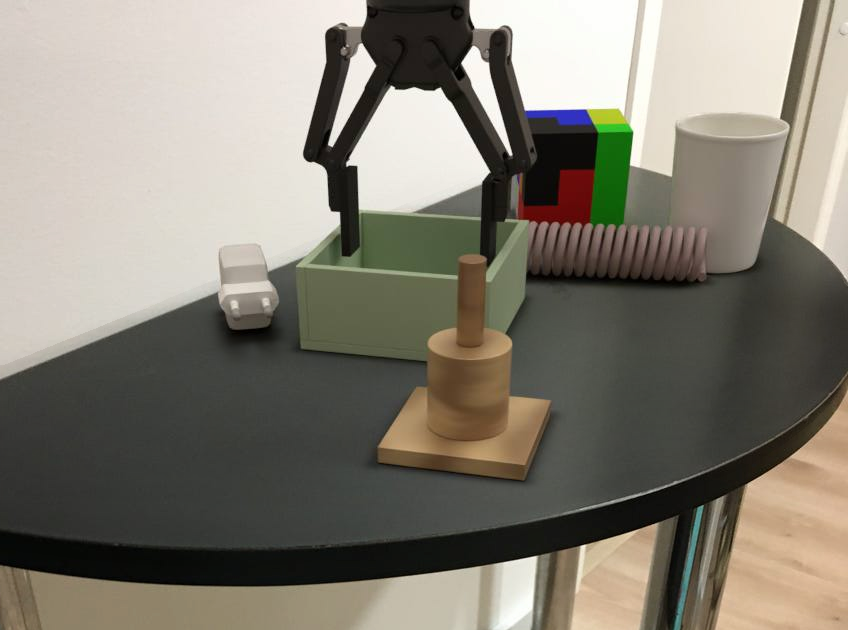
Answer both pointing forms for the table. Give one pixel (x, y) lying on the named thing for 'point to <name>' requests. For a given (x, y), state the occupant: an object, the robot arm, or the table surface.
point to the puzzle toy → (576, 168)
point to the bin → (403, 283)
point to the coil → (617, 251)
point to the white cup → (726, 182)
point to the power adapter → (246, 287)
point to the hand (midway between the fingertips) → (418, 256)
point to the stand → (468, 398)
